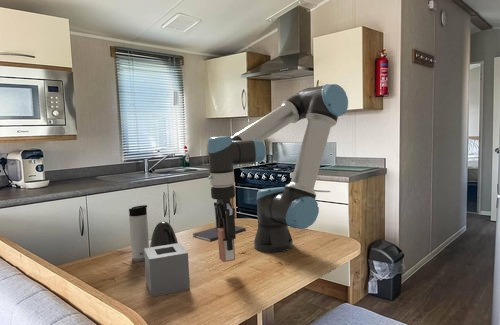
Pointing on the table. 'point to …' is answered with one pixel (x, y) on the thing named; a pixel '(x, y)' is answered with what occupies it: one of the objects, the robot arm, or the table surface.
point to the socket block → (166, 269)
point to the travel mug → (138, 232)
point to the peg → (221, 245)
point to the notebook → (213, 233)
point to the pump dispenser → (163, 235)
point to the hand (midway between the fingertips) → (227, 257)
